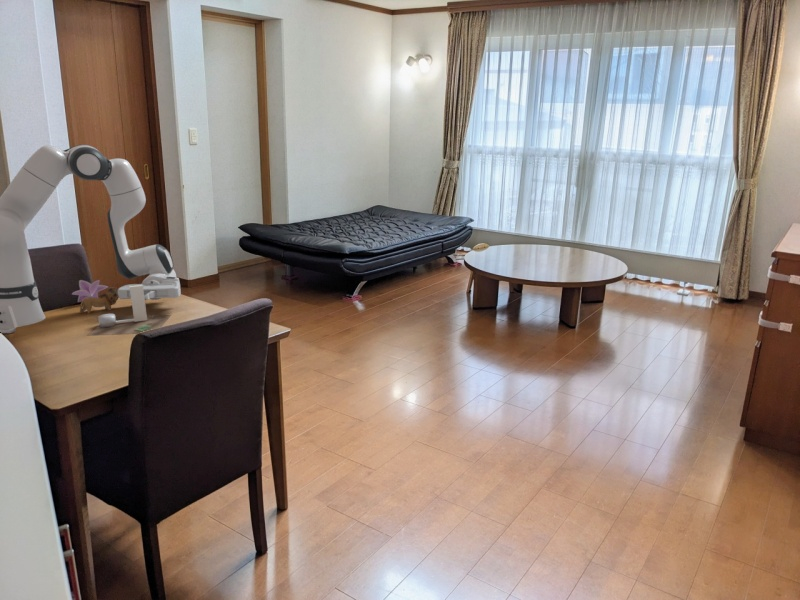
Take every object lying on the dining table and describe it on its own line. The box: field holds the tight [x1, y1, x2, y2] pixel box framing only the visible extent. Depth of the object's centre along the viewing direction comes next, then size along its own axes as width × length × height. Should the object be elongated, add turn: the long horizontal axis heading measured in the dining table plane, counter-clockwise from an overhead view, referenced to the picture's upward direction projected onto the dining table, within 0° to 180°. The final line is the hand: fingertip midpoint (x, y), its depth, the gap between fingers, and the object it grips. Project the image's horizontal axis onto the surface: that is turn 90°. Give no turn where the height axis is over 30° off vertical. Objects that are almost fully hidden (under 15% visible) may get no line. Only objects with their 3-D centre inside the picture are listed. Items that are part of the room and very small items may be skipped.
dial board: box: [86, 314, 172, 336], centre depth 197 cm, size 21×19×2 cm
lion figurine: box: [79, 286, 120, 314], centre depth 212 cm, size 15×5×9 cm, turn 132°
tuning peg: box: [97, 285, 147, 327], centre depth 197 cm, size 14×5×12 cm, turn 116°
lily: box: [71, 279, 109, 303], centre depth 225 cm, size 12×12×10 cm
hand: (143, 297), depth 201 cm, fingers closed
